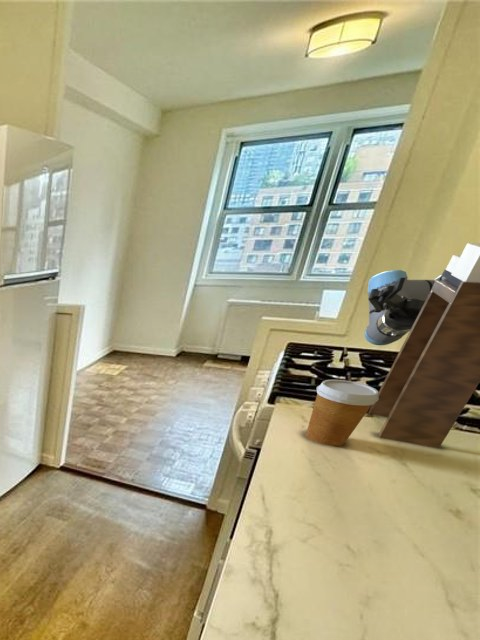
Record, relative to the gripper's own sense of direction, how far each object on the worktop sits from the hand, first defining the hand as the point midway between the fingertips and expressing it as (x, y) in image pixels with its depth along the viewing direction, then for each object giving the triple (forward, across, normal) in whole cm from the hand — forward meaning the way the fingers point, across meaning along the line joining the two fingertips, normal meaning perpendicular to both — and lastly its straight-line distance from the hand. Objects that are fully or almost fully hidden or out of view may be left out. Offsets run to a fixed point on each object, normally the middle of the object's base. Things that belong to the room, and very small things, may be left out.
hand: (442, 285), depth 108 cm
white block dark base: (+14, 0, -5) cm, 14 cm away
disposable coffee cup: (+18, +14, -42) cm, 47 cm away
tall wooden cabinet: (+5, 0, -34) cm, 35 cm away
